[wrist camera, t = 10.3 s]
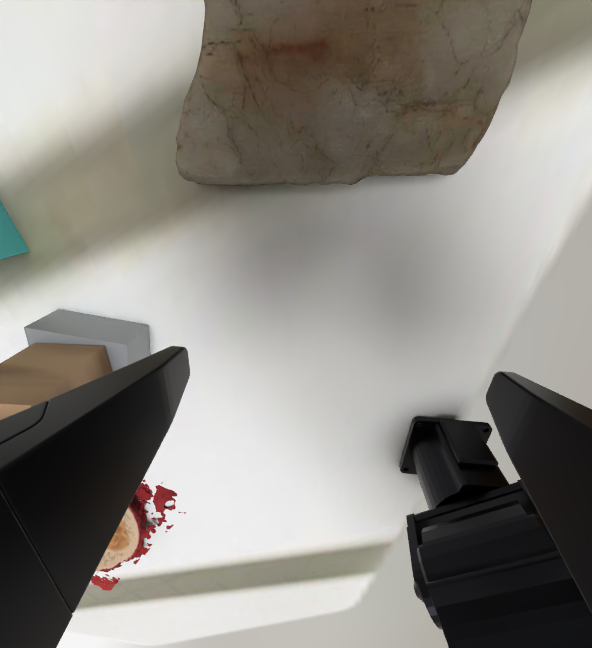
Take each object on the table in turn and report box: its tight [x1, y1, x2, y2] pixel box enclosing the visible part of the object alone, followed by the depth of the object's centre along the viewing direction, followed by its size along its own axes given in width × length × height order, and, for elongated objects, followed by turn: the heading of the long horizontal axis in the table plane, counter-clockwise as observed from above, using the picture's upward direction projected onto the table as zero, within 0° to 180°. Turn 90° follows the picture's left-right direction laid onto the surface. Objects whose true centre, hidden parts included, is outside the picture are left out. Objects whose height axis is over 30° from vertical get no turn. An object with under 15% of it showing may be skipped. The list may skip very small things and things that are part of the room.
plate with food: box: [91, 480, 186, 590], centre depth 34 cm, size 25×26×4 cm
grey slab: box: [24, 309, 150, 372], centre depth 24 cm, size 7×7×4 cm
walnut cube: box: [0, 343, 112, 420], centre depth 19 cm, size 5×5×6 cm
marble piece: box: [176, 0, 532, 185], centre depth 14 cm, size 17×15×4 cm
